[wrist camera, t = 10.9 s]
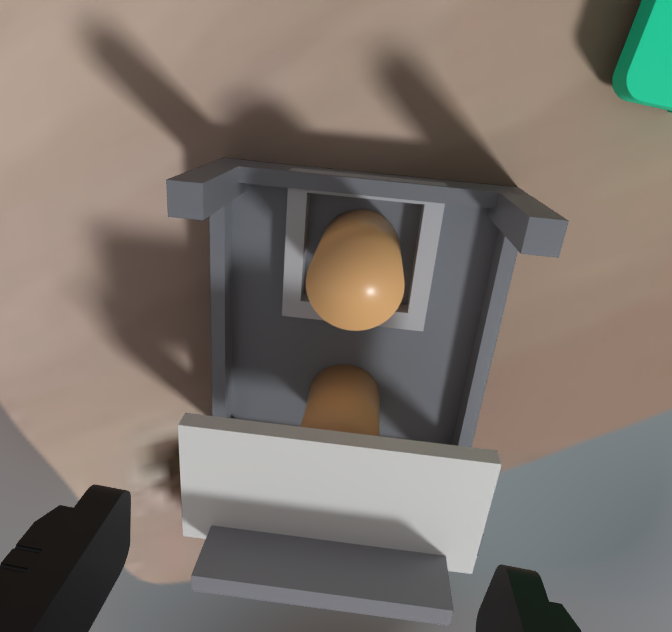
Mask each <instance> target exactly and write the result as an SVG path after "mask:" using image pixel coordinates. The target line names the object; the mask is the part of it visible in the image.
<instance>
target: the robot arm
mask: <svg viewBox="0 0 672 632" xmlns="http://www.w3.org/2000/svg"><path fill="white" fill-rule="evenodd" d="M130 516H131V495H130V492H129V491H126V490H121V489H116V488H111V487H106V486H100V485H92V486H91V487H90V488H88V490H87V491H86V492H85V493H84V495H83V496H82V497H81V499H80V500H79V501H78V503H77V504H76V505H75V507H74V508H72V507H67V506H62V505H59V506H58V507H56V508H55V509H54V510H52V511H50V512H49V513H47V514H46V515H44V516H43V517H41V518H40V519H38V520H37V521H35V522H34V523H33V525H32V526H31V527H30V528H29V529H28V531H27V532H26V533H25V534H24V535H23V537H22V538H21V539H20V540H19V542H18V543H17V544H16V547H15V549H12V550H11V552H10V553H9V554H8V555H7V556H6V558H5V559H4V560H3V561H2V562H1V565H0V632H88V631H89V630H90V628H91V626H92V624H93V622H94V620H95V619H96V617H97V615H98V613H99V611H100V610H101V608H102V606H103V604H104V602H105V601H106V599H107V597H108V595H109V593H110V591H111V590H112V588H113V586H114V584H115V582H116V580H117V579H118V577H119V575H120V573H121V571H122V569H123V567H124V564H125V561H126V558H127V555H128V551H129V546H130ZM476 632H581V630H580V628H579V627H578V626H577V624H576V623H575V622H574V620H573V619H572V618H571V616H570V615H569V613H568V612H567V611H566V609H565V608H564V607H563V605H562V604H559V603H554V602H549V600H548V597H547V594H546V591H545V588H544V585H543V582H542V580H541V577H540V575H539V574H538V573H537V572H536V571H532V570H527V569H521V568H516V567H511V566H506V565H499V566H498V567H497V569H496V571H495V573H494V575H493V578H492V580H491V583H490V585H489V587H488V590H487V592H486V595H485V597H484V599H483V602H482V604H481V606H480V609H479V612H478V616H477V621H476Z"/></svg>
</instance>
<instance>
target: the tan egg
mask: <svg viewBox="0 0 672 632" xmlns="http://www.w3.org/2000/svg"><path fill="white" fill-rule="evenodd" d="M404 286H405V284H404V273H403V265H402V257H401V249H400V242H399V237H398V235H397V232H396V230H395V228H394V227H393V225H392V224H391V223H390V222H389V221H388V220H387V219H386V218H385V217H383V216H382V215H380V214H378V213H376V212H373V211H370V210H364V209H357V210H350V211H347V212H344V213H342V214H340V215H338V216H337V217H336V218H334V219H333V220H332V221H331V222H330V223H329V225H328V226H327V227H326V229H325V231H324V233H323V235H322V238H321V240H320V242H319V245H318V247H317V249H316V252H315V254H314V257H313V259H312V261H311V264H310V266H309V268H308V272H307V276H306V291H307V295H308V299H309V301H310V303H311V305H312V307H313V309H314V310H315V311H316V312H317V314H318V315H319V316H320V317H321V318H322V319H324V320H325V321H326V322H328V323H329V324H331V325H333V326H335V327H338V328H341V329H345V330H351V331H360V330H367V329H371V328H374V327H376V326H378V325H380V324H382V323H384V322H385V321H387V320H388V319H389V318H390V317H391V316H392V315H393V314H394V313H395V311H396V310H397V309H398V307H399V305H400V303H401V301H402V298H403V294H404Z"/></svg>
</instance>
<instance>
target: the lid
mask: <svg viewBox="0 0 672 632" xmlns="http://www.w3.org/2000/svg"><path fill="white" fill-rule="evenodd" d="M178 434H179V456H180V477H181V499H182V520H183V536H187V537H195V538H202V539H206V540H205V542H204V545H203V547H202V550H201V552H200V555H199V557H198V560H197V562H196V565H195V567H194V570H193V572H192V575H191V582H192V591H198V592H205V593H212V594H219V595H227V596H234V597H241V598H248V599H256V600H263V601H271V602H279V603H285V604H293V605H300V606H308V607H315V608H322V609H330V610H337V611H345V612H352V613H359V614H366V615H374V616H382V617H389V618H396V619H404V620H411V621H419V622H425V623H433V624H441V625H448V626H449V625H450V622H451V619H452V615H453V603H452V596H451V589H450V582H449V575H448V571H454V572H462V573H470V574H472V572H473V568H474V564H475V561H476V557H477V553H478V550H479V546H480V542H481V539H482V535H483V531H484V527H485V524H486V520H487V516H488V513H489V509H490V505H491V501H492V498H493V494H494V490H495V487H496V483H497V479H498V476H499V472H500V468H501V465H502V464H501V461H500V458H499V455H498V452H497V450H489V449H480V448H472V447H464V446H456V445H447V444H439V443H431V442H423V441H414V440H406V439H398V438H390V437H381V436H373V435H365V434H357V433H348V432H340V431H332V430H324V429H315V428H307V427H299V426H291V425H282V424H274V423H266V422H257V421H249V420H241V419H233V418H224V417H216V416H208V415H200V414H191V413H185V415H184V416H183V418H182V419H181V421H180V423H179V424H178Z"/></svg>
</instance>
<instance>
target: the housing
mask: <svg viewBox="0 0 672 632" xmlns="http://www.w3.org/2000/svg"><path fill="white" fill-rule="evenodd" d="M166 185H167V206H168V217H176V218H185V219H195V220H205V219H206V218H208V217H209V221H210V292H211V363H212V416H216V417H224V418H233V419H241V420H249V421H257V422H266V423H274V424H282V425H291V426H299V427H307V428H315V429H324V430H332V431H340V432H348V433H357V434H365V435H373V436H381V437H390V438H398V439H406V440H414V441H423V442H431V443H439V444H447V445H456V446H464V447H471V446H472V442H473V438H474V434H475V430H476V425H477V421H478V417H479V413H480V408H481V404H482V400H483V396H484V391H485V387H486V383H487V379H488V375H489V370H490V366H491V362H492V358H493V353H494V349H495V345H496V341H497V337H498V332H499V328H500V324H501V320H502V315H503V311H504V307H505V303H506V298H507V294H508V290H509V286H510V282H511V277H512V273H513V269H514V265H515V260H516V256H517V252H518V251H519V252H520V253H521V254H528V255H537V256H547V257H556V258H559V254H560V251H561V247H562V243H563V240H564V236H565V232H566V229H567V225H568V220H567V219H565V218H564V217H562V216H561V215H559V214H558V213H556V212H555V211H553V210H552V209H550V208H549V207H547V206H546V205H544V204H543V203H541V202H539V201H538V200H536V199H535V198H533V197H532V196H530V195H529V194H527V193H526V192H524V191H523V190H521V189H520V188H518V187H509V186H499V185H489V184H479V183H469V182H459V181H449V180H439V179H429V178H419V177H409V176H399V175H389V174H379V173H369V172H359V171H349V170H339V169H329V168H319V167H309V166H299V165H289V164H279V163H269V162H259V161H249V160H239V159H229V158H221V159H219V160H216V161H214V162H211V163H208V164H206V165H203V166H201V167H198V168H195V169H193V170H190V171H188V172H185V173H183V174H180V175H177V176H175V177H172V178H170V179H167V180H166ZM357 209H364V210H370V211H373V212H376V213H378V214H380V215H382V216H383V217H385V218H386V219H387V220H388V221H389V222H390V223H391V224H392V225H393V227H394V228H395V230H396V232H397V235H398V237H399V242H400V249H401V257H402V265H403V273H404V284H405V286H404V294H403V298H402V301H401V303H400V305H399V307H398V309H397V310H396V311H395V313H394V314H393V315H392V316H391V317H390V318H389V319H388V320H387V321H385V322H384V323H382V324H380V325H378V326H376V327H374V328H371V329H367V330H360V331H351V330H345V329H341V328H338V327H335V326H333V325H331V324H329V323H328V322H326V321H325V320H324V319H322V318H321V317H320V316H319V315H318V314H317V312H316V311H315V310H314V309H313V307H312V305H311V303H310V301H309V299H308V295H307V291H306V276H307V272H308V268H309V266H310V264H311V261H312V259H313V257H314V254H315V252H316V249H317V247H318V245H319V242H320V240H321V238H322V235H323V233H324V231H325V229H326V227H327V226H328V225H329V223H330V222H331V221H332V220H333V219H334V218H336V217H337V216H338V215H340V214H342V213H344V212H347V211H350V210H357ZM181 505H182V499H181ZM482 538H483V535H482ZM481 542H482V539H481ZM481 542H480V546H481ZM480 546H479V549H480ZM478 553H479V550H478ZM478 553H477V556H478Z"/></svg>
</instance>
